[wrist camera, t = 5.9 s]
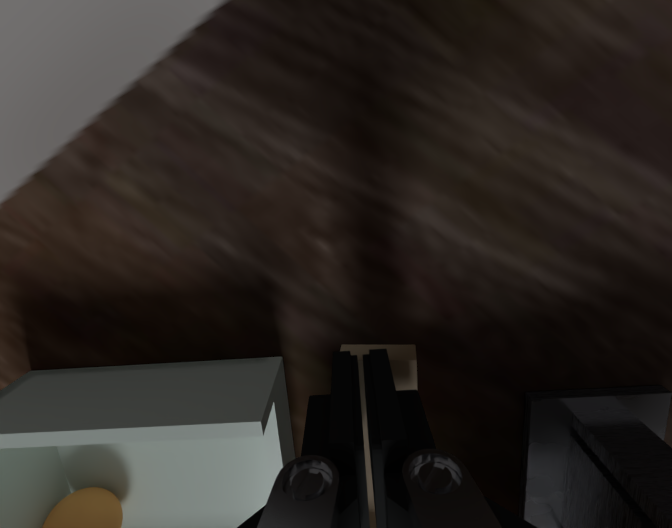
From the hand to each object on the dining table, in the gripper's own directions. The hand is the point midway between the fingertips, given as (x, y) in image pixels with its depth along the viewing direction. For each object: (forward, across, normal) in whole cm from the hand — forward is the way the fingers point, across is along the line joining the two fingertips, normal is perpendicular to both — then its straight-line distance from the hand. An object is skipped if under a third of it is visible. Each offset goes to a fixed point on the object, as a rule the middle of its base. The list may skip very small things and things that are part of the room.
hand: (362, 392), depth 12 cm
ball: (+3, +13, +8) cm, 16 cm away
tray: (+5, +10, +8) cm, 14 cm away
